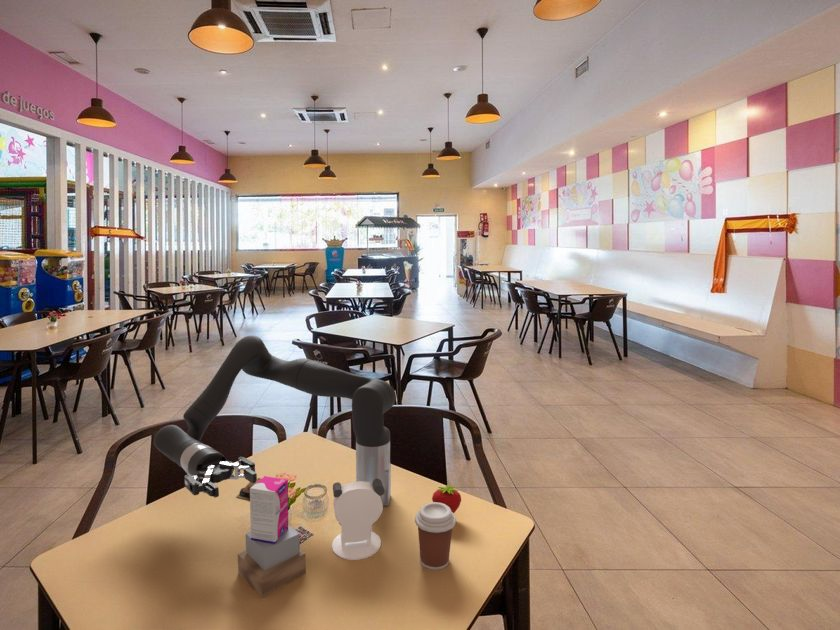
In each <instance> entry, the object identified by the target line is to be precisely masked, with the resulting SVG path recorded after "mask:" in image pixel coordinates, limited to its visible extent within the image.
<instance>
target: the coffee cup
mask: <svg viewBox="0 0 840 630" xmlns="http://www.w3.org/2000/svg"><path fill="white" fill-rule="evenodd" d="M414 523H415V526H417V532H418V542H419V543H418V544H419V545H418V547H419V561H420V563H421V565H422V566H423V567H424V568H426V569H428V570H430V571H431V570H432V571H437V570H438V571H439V570H442V569H445V568H447V566H448V565H449V562H450V551H451V544H452V543H451V542H452V532H453V528H454V527H455V526H456V523H457V517H456V515H455V513H453V512H451V509H450V507H448V506H447V505H445V504H443V503H438V502H433V501H432V502H428V503H425V504H423V505H422V506H421V507H420V509H419V510H418V511H417V512H416V513H415V516H414Z"/></svg>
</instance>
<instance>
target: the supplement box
mask: <svg viewBox="0 0 840 630" xmlns="http://www.w3.org/2000/svg"><path fill="white" fill-rule="evenodd" d="M260 479H261V480H259V481H258V482H257V483H256V484H255V485H254V486H252V487H251V488H250V501H249V510H250V512H249V513H250V514H249V517H250V531H251V540H252V541H258V542H265V543H270V544H275V543H276V542H277V541H278V540H279V538H280V537H281V536H282V535H283V534H284V533H285V531H287V529H288V525H289V480H288V479H286V478H280V477H274V476H273V477H271V476H267V475H265V476H263V477H261V478H260Z"/></svg>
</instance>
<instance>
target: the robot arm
mask: <svg viewBox="0 0 840 630" xmlns="http://www.w3.org/2000/svg"><path fill="white" fill-rule="evenodd" d="M232 347H233V348H232V349H231V350H230V352H229V354H228V355H227V356H226V358H225V359H224V361H223V362H222V363H221V365H220V367H219V368H218V370H217V371H216V373H215V374H214V376H213V378H212V379H211V381H210V382H209V384H208V385H207V386H206V388H205V389H204V390H203V391H202V392H201V394H200V395H199V396H198V397H197V398H196V399H195V400H194V402H192V404H191V405H190V406H189V407H188V408H187V409H186V410H185V412H184V413H183V414H182V415H183V416H182V417H183V420H184V421H185V423H186V425H187V431H184V430H183V429H182V428H181V427H179V426H178V425H176V424H167V425H165V426H163V427H161V428H160V429H159V430H158V431H156V433H155V435H154V438H153V445H154V447H155V449H156V450H158V451H159V452H160V453H161V454H163V455H164V456H165V457H166V458H168V459H169V460H170V461H171V462H173V463H176V464H177V466H179V467H180V468H181V469H183V471H184V472H185V473H186V474H185V475H184V488H186V489H187V490H188V491H189V492H190V493H191V494H192V495H193V496H198V495H200V493H202V494H207V495H208V496H209V497H213V498H219V496H220V491H219V487H218V486H217V485H215V484H218V483H221V482H223V481H227V480H239V479H245V480H246V481H248V483H249V482H251V483H255V482H256V480H257V479H258V475H257V472H256V462H254V461H252V460H251V459H248V458H246V457H244V456H239V457H238V460H237V461H235V462H233V461H231V460H228V459H227V458H226V457H225V455H223V454H222V453H221V452H220V451H218V450H216V449H214V448H213V447H211V446H209V445H208V444H204V443H203V442H202V441H201V440H202V438H203V436H204V434H205V432H206V430H207V428H208V427H209V425H210V424H211V423H212V422H213V420H214V419H215V418H216V417H217V416H218V414H219V413H220V412H221V411H222V409H223V408H224V406H225V404H226V402H227V401H228V398H229V395H230V392H231V389H232V388H233V384H234V382H235V380H236V378H237V377H238V375H239V373H240V372H241V371H243V372H244V373H245V374H246V375H249V376H251V377H256V378H260V379H264V380H268V381H269V380H270V381H273V382H277V383H279V384H282V385H284V386H286V387H290V388H293V389H296V390H298V391H301V392H303V393H306V394H309V395H313V396H316V397H317V396H318V397H325V398H326V397H328V398H344V399H350V400H351V415H352V416H351V418H352V420H351V421H352V429H353V433H354V435H355V451H356V452H355V482H356V481H364V482H369V483H371V484H372V482H373V480H375V479H380V480H381V481H382V484H383V487H384V490H385V492H384V494H383V495H381V496H380V498H381V501H382V504H383V507H387V506H389V505H390V500H391V495H392V494H391V492H392V491H391V490H392V489H391V486H392V484H391V483H392V482H391V481H392V478H391V477H392V474H391V473H392V470H391V469H392V464H391V431H390V429H389V428H388V427H386V426H385V424H384V423H385V422H384V414H385V413H386V412H388V411H389V410H390V409H391V408H393V406H394V404H395V403H396V399H397V396H396V392H395V389H394V388H393V386H391V384H390V383H389V382H387V381H386V380H382V379H379V378H374V377H368V376H363V375H359V374H355V373H352V372H349V371H346V370H343V369H339V368H337V367H334V366H330V365H328V364H325V363H323V362H319V361H316V360H313V359H309V358H297V359H293V360H286V359H282V358H279V357H276V356H274V355H272V354H271V353H270V352H269V350H268V348H267V347H266V344H265V343H264V342H263V340H262V339H261V338H260V336H257V335H248V336H244V337H243V338H241V339H240V340H238V341H237V342H236V343H235V344H234V346H232ZM241 471H243V473H242V472H241ZM372 485H373V484H372Z"/></svg>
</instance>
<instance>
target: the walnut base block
mask: <svg viewBox="0 0 840 630" xmlns="http://www.w3.org/2000/svg"><path fill="white" fill-rule="evenodd" d="M237 569H238V570H237V571H238V573H237V574H238V576H239V577H241V578H242V579H243V581H245V583H246V584H248V585H249V586H250V587H251V588H252V589H253V590H254V591H255V592H256V593H257V594H258V595H259V596H260V597H262V598H265V597H267V596H269V595H271V594H272V593H274V592H276V591H277V590H279V589H281V588H282V587H284V586H286V585H288V584H290V583H291V582H294V581H295V580H296V579H298V578H300V577H301V576H304V575H305V574H306V573H307V572H306V571H307V570H306V569H307V566H306V552H304V551H303V550H301V549H300V553H299V554H297V555H295V556H293V557H292V558H290V559H288V560H286V561H284V562H282V563H280V564H278V565H276V566H274V567H272V568H270V569H268V570H266V571H264V570H263V569H262V568H261V567H260V566H259V565H258V564H257V563H256V562H255V561H254V560H253V559H252V558H251V557H250V556H249V555H248V554H247V553H246V550H244V551H242V552H239V553H238V554H237Z"/></svg>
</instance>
